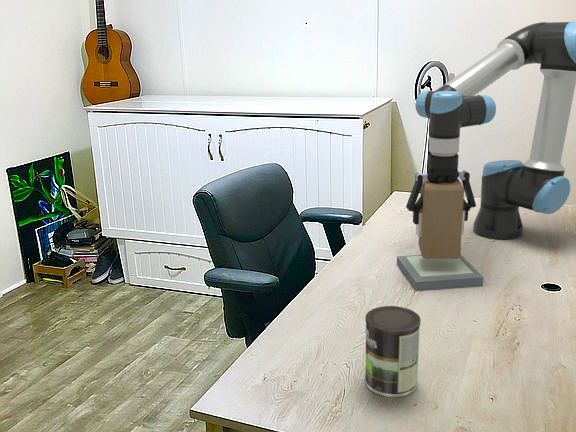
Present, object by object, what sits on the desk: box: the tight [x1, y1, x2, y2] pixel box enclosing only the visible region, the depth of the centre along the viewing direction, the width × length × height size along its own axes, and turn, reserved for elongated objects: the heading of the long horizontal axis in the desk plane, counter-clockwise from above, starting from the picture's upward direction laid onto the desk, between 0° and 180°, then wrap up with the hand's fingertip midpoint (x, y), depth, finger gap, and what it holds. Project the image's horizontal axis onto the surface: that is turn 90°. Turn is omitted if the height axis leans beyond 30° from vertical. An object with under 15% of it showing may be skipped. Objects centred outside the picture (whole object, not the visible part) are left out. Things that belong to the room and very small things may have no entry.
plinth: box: [396, 253, 484, 292], centre depth 171 cm, size 18×18×3 cm
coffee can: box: [364, 305, 422, 398], centre depth 121 cm, size 10×10×14 cm
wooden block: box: [418, 177, 465, 259], centre depth 167 cm, size 10×10×20 cm
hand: (439, 233), depth 168 cm, fingers closed on wooden block, 11 cm apart
